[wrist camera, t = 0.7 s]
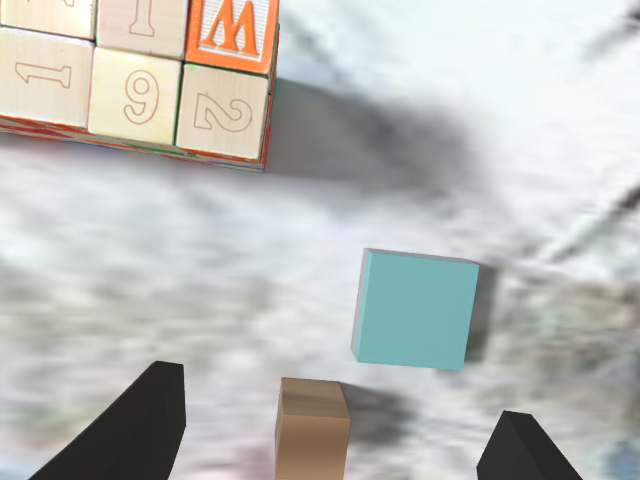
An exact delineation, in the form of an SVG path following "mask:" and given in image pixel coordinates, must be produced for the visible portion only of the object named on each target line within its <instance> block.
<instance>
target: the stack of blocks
mask: <svg viewBox="0 0 640 480" xmlns="http://www.w3.org/2000/svg"><path fill="white" fill-rule="evenodd" d="M278 20H279V0H0V132H7V133H14V134H19V135H25V136H32V137H38V138H45V139H51V140H58V141H72V142H78V143H84V144H91V145H97V146H103V147H109V148H117V149H124V150H130V151H137V152H143V153H149V154H156V155H162V156H166V157H169V158H175V159H180V160H187V161H193V162H199V163H206V164H212V165H217V166H221V167H227V168H233V169H240V170H246V171H252V172H258V173H264V167H265V160H266V153H267V145H268V137H269V130H270V117H271V109H272V102H273V95H274V88H275V81H276V65H277V53H278V44H279V30H280V24H279V23H278Z"/></svg>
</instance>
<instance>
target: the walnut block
mask: <svg viewBox="0 0 640 480" xmlns="http://www.w3.org/2000/svg"><path fill="white" fill-rule="evenodd" d="M350 425H351V416H350V413H349V410H348V407H347V404H346V401H345V398H344V395H343V392H342V389H341V386H340V383H339V381H325V380H311V379H298V378H284V377H282V378H281V386H280V395H279V403H278V412H277V420H276V429H275V480H343V476H344V468H345V461H346V454H347V446H348V439H349V432H350Z"/></svg>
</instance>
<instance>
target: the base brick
mask: <svg viewBox="0 0 640 480" xmlns="http://www.w3.org/2000/svg"><path fill="white" fill-rule="evenodd" d="M478 272H479V265H478V264H475V263H473V262H470V261H467V260H465V259H460V258H451V257H442V256H433V255H424V254H415V253H406V252H397V251H388V250H379V249H369V248H364V252H363V260H362V267H361V275H360V282H359V290H358V297H357V304H356V312H355V319H354V327H353V334H352V342H351V350H352V352H353V354H354V356H355V358H356V360H357V362H362V363H375V364H388V365H401V366H413V367H426V368H439V369H452V370H463V364H464V357H465V351H466V345H467V339H468V333H469V327H470V321H471V314H472V308H473V302H474V296H475V290H476V284H477V278H478Z"/></svg>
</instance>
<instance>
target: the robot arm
mask: <svg viewBox="0 0 640 480" xmlns="http://www.w3.org/2000/svg"><path fill="white" fill-rule="evenodd" d="M185 427H186V412H185V390H184V368H183V364H177V363H170V362H163V361H155V362H154V363H152V364H151V365H150V366H149V367H148V368H147V369H146V370H145V371H144V372H143V373H142V374H141V375H140V376H139V377H138V378H137V379H136V380H135V381H134V382H133V383H132V384H131V385H130V386H129V387H128V388H127V389H126V390H125V391H124V392H123V393H122V394H121V395H120V396H119V397H118V398H117V399H116V400H115V401H114V402H113V403H112V404H111V405H110V406H109V407H108V408H107V409H106V410H105V411H104V412H103V413H102V414H101V415H100V416H99V417H98V418H97V419H95V420H94V421H93V422H92V423H91V424H90V425H89V426H88V427H87V428H86V429H85V430H84V431H83V432H82V433H80V434H79V435H78V436H77V437H76V438H75V439H74V440H73V441H72V442H71V443H70V444H68V445H67V446H66V447H65V448H64V449H63V450H62V451H61V452H59V453H58V454H57V455H56V456H55V457H54V458H52V459H51V460H50V461H49V462H48V463H47V464H45V465H44V466H43V467H42V468H41V469H40V470H38V471H37V472H36V473H35V474H34V475H33V476H31V477H30V478H29V479H28V480H168V477H169V475H170V473H171V470H172V467H173V464H174V461H175V458H176V455H177V452H178V449H179V446H180V443H181V440H182V437H183V433H184V430H185ZM476 468H477V476H478V480H583V479H582V478H581V477H580V476H579V474H578V473H577V472H576V471H575V469H574V468H573V467H572V466H571V464H570V463H569V462H568V460H567V459H566V458H565V457H564V455H563V454H562V453H561V452H560V450H559V449H558V448H557V446H556V445H555V444H554V443H553V441H552V440H551V439H550V438H549V436H548V435H547V434H546V432H545V431H544V430H543V429H542V427H541V426H540V425H539V424H538V422H537V421H536V420H535V419H534V417H533V416H532V415H531V414H525V413H518V412H511V411H503V413H502V415H501V417H500V419H499V421H498V423H497V425H496V427H495V429H494V431H493V433H492V436H491V438H490V440H489V442H488V444H487V446H486V448H485V450H484V452H483V454H482V456H481V459H480V461H479V463H478V465H477V467H476Z"/></svg>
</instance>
